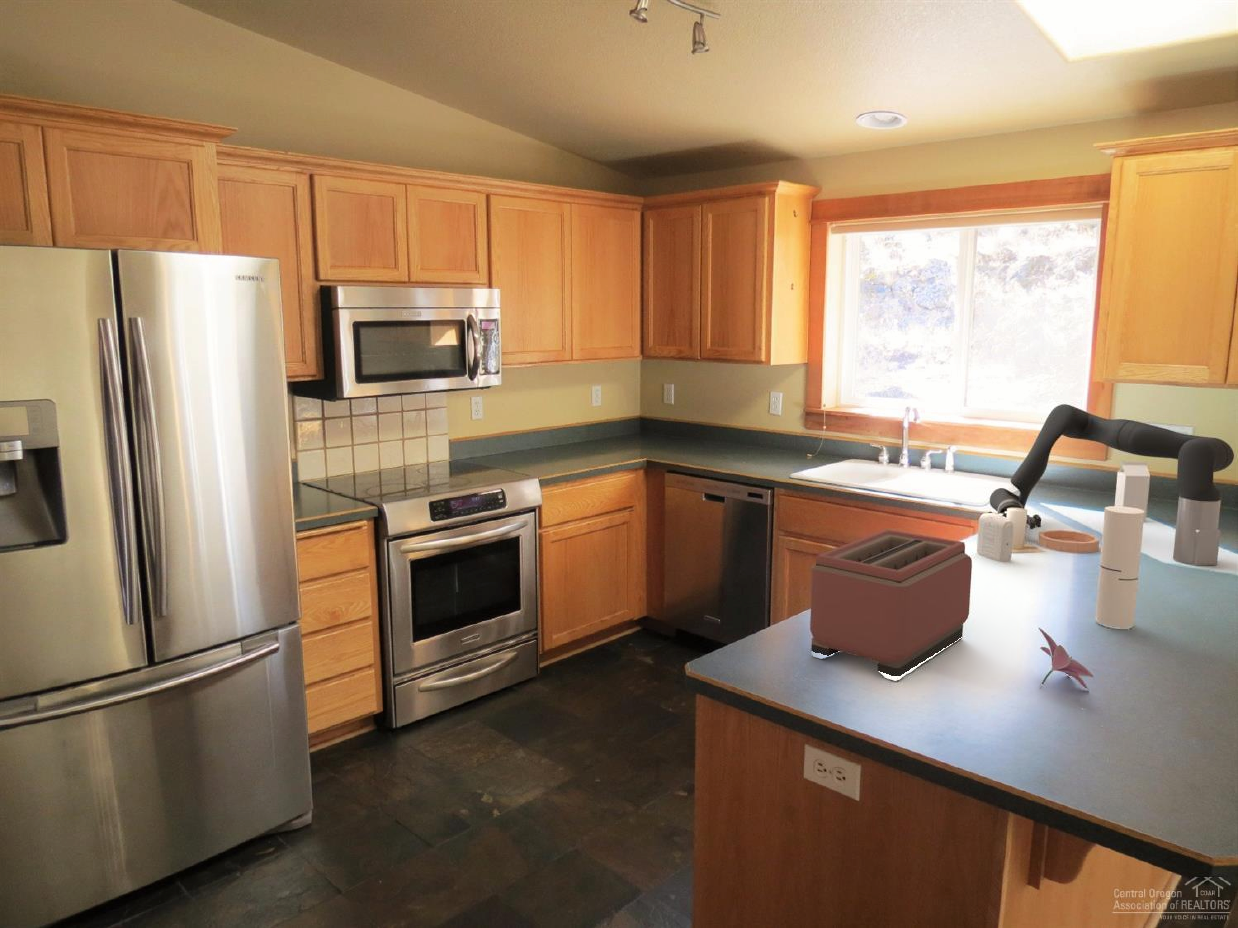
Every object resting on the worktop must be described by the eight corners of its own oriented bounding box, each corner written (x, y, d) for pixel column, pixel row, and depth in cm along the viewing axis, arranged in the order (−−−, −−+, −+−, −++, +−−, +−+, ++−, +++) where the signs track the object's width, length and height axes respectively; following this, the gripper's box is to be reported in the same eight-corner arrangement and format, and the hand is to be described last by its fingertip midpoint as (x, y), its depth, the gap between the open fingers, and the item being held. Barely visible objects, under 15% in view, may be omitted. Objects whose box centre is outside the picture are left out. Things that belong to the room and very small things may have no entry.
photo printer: (1013, 562, 227) (1016, 517, 225) (1000, 563, 226) (1003, 518, 224) (986, 552, 237) (989, 509, 235) (974, 553, 236) (976, 510, 234)
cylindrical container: (1098, 615, 185) (1108, 504, 181) (1136, 622, 181) (1146, 509, 177) (1092, 624, 180) (1101, 510, 176) (1130, 632, 175) (1141, 515, 171)
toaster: (976, 633, 176) (982, 537, 173) (897, 686, 151) (902, 575, 147) (890, 612, 189) (894, 523, 186) (804, 658, 164) (806, 555, 161)
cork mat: (1046, 553, 236) (1046, 551, 236) (1005, 554, 235) (1005, 553, 235) (1022, 542, 248) (1023, 541, 248) (983, 543, 247) (983, 542, 247)
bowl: (1110, 552, 236) (1110, 542, 235) (1058, 554, 234) (1058, 543, 234) (1076, 539, 251) (1077, 529, 250) (1027, 540, 249) (1028, 530, 249)
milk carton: (1145, 521, 271) (1151, 463, 268) (1121, 521, 272) (1126, 463, 269) (1137, 517, 278) (1142, 460, 275) (1113, 516, 279) (1118, 459, 276)
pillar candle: (1028, 549, 239) (1030, 511, 237) (1010, 549, 239) (1013, 511, 237) (1018, 544, 244) (1020, 507, 242) (1000, 544, 244) (1003, 507, 242)
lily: (1090, 713, 142) (1115, 662, 142) (1021, 678, 145) (1046, 628, 145) (1071, 705, 153) (1095, 658, 153) (1007, 672, 157) (1031, 626, 157)
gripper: (986, 499, 259) (989, 510, 244) (1037, 502, 254) (1044, 513, 239) (985, 523, 260) (987, 535, 245) (1036, 526, 255) (1042, 539, 240)
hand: (1015, 524), depth 242 cm, fingers open, 8 cm apart
